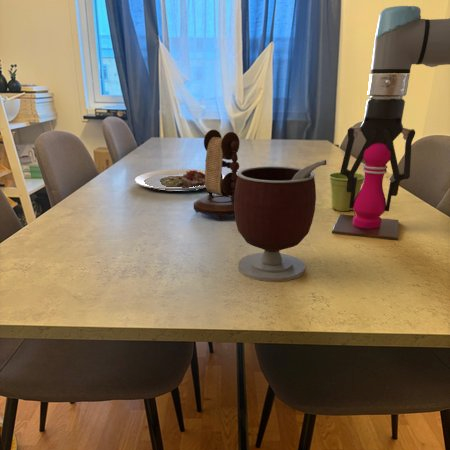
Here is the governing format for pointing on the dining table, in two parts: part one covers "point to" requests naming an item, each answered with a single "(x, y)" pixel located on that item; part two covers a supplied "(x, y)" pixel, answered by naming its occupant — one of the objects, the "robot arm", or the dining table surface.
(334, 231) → the coaster board
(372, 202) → the pepper mill
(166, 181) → the plated food
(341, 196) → the plant pot
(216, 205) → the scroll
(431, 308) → the dining table surface
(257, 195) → the mate gourd
